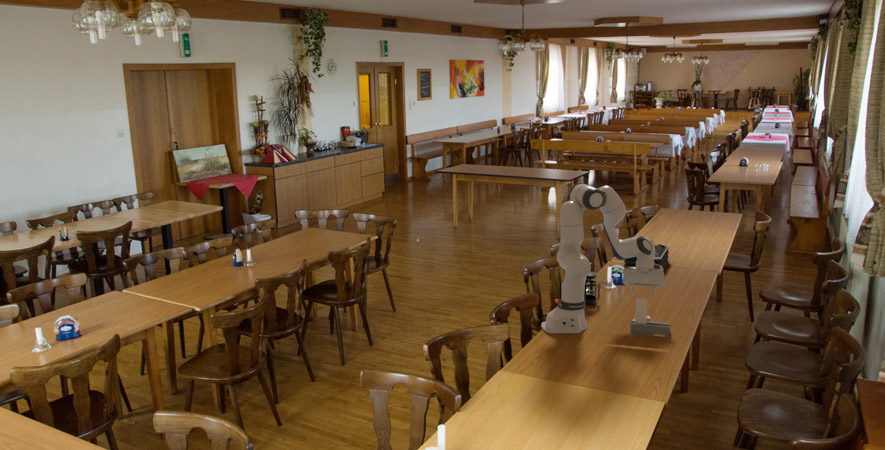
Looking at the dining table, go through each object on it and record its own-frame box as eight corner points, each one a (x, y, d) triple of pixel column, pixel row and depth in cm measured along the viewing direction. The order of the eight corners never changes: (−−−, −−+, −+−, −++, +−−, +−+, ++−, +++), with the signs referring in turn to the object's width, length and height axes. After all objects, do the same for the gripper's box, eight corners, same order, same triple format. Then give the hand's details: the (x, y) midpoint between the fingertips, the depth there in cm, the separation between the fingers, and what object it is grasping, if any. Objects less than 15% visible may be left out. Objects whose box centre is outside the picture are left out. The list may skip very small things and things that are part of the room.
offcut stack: (632, 327, 327) (632, 317, 326) (633, 323, 332) (633, 314, 331) (649, 329, 324) (650, 319, 323) (650, 325, 329) (650, 315, 328)
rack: (629, 335, 319) (630, 325, 318) (632, 325, 332) (632, 315, 331) (669, 339, 313) (669, 329, 312) (670, 329, 326) (670, 319, 325)
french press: (575, 303, 366) (575, 263, 361) (582, 298, 374) (582, 259, 369) (595, 307, 359) (596, 266, 355) (602, 302, 367) (603, 262, 362)
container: (668, 261, 441) (669, 242, 439) (659, 276, 411) (660, 255, 408) (634, 258, 451) (635, 239, 448) (623, 272, 421) (624, 252, 418)
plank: (634, 330, 323) (635, 299, 319) (635, 329, 324) (636, 297, 321) (645, 331, 321) (646, 300, 317) (645, 330, 323) (647, 298, 319)
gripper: (623, 264, 335) (620, 288, 328) (665, 266, 328) (664, 291, 321) (623, 270, 340) (621, 294, 333) (665, 272, 333) (664, 297, 326)
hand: (642, 293), depth 327 cm, fingers open, 8 cm apart
